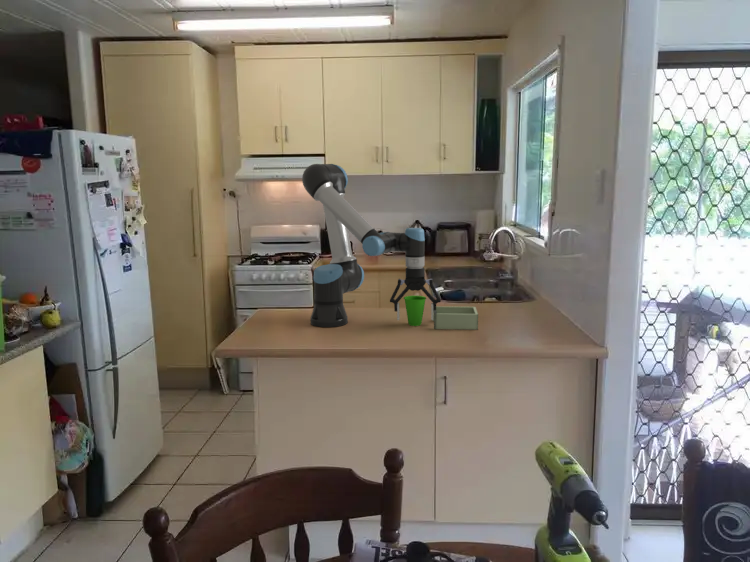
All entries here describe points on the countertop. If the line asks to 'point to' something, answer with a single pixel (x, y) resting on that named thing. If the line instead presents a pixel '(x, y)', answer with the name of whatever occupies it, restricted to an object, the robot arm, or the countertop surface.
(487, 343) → the countertop surface
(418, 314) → the cup
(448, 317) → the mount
